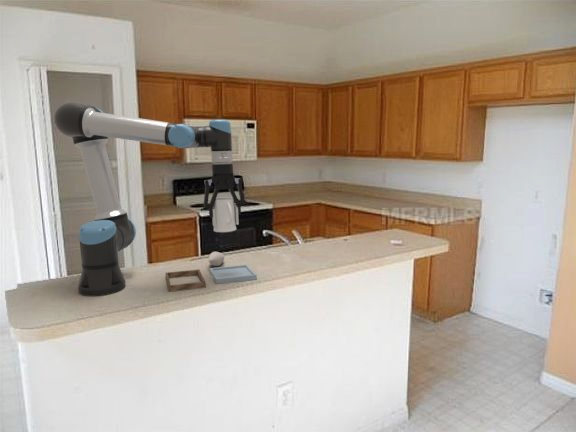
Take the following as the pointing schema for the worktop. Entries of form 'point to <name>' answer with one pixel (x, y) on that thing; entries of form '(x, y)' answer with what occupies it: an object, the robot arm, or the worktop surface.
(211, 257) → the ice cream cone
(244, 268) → the tray
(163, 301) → the worktop surface
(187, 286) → the walnut frame
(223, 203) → the mug
